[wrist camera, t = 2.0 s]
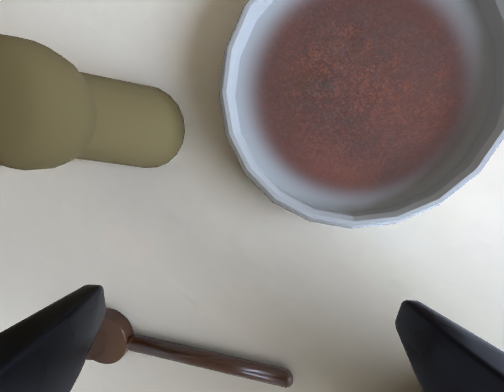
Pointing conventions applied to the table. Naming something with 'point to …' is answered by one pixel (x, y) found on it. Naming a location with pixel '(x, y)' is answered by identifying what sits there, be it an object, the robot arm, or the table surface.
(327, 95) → the frying pan
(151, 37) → the table surface
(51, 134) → the olive pawn
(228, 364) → the wooden spoon
